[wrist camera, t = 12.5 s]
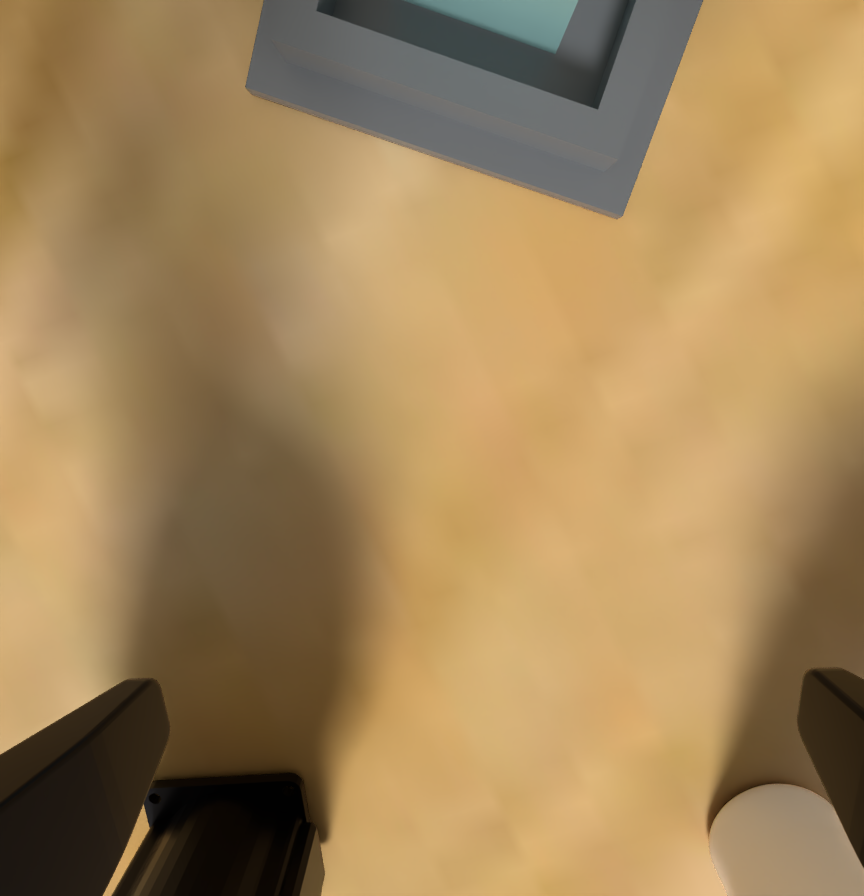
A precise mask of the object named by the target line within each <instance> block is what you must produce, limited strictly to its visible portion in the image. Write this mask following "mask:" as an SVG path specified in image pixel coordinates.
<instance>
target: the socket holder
mask: <svg viewBox="0 0 864 896" xmlns="http://www.w3.org/2000/svg"><path fill="white" fill-rule="evenodd" d="M702 2H703V0H578V2H577V5H576V7H575V9H574V12H573V14H572V16H571V19H570V21H569V23H568V26H567V28H566V30H565V33H564V35H563V37H562V40H561V42H560V44H559V47H558V49H557V51H556V54H553V53H550V52H547V51H545V50H542V49H539V48H536V47H533V46H530V45H528V44H525V43H522V42H519V41H516V40H513V39H511V38H508V37H505V36H502V35H499V34H496V33H494V32H491V31H488V30H485V29H482V28H479V27H477V26H474V25H471V24H468V23H465V22H462V21H460V20H457V19H454V18H451V17H448V16H445V15H443V14H440V13H437V12H434V11H431V10H428V9H426V8H423V7H420V6H417V5H414V4H411V3H409V2H406V1H403V0H264V2H263V7H262V12H261V16H260V21H259V26H258V30H257V35H256V40H255V44H254V49H253V53H252V58H251V63H250V67H249V72H248V77H247V81H246V86H245V87H246V89H247V90H248V91H249V92H250V93H251V94H252V95H255V96H258V97H261V98H264V99H267V100H270V101H272V102H275V103H278V104H281V105H284V106H287V107H290V108H293V109H296V110H299V111H302V112H305V113H308V114H310V115H313V116H316V117H319V118H322V119H325V120H328V121H331V122H334V123H337V124H340V125H343V126H346V127H349V128H351V129H354V130H357V131H360V132H363V133H366V134H369V135H372V136H375V137H378V138H381V139H384V140H387V141H389V142H392V143H395V144H398V145H401V146H404V147H407V148H410V149H413V150H416V151H419V152H422V153H425V154H428V155H430V156H433V157H436V158H439V159H442V160H445V161H448V162H451V163H454V164H457V165H460V166H463V167H466V168H469V169H471V170H474V171H477V172H480V173H483V174H486V175H489V176H492V177H495V178H498V179H501V180H504V181H507V182H509V183H512V184H515V185H518V186H521V187H524V188H527V189H530V190H533V191H536V192H539V193H542V194H545V195H548V196H550V197H553V198H556V199H559V200H562V201H565V202H568V203H571V204H574V205H577V206H580V207H583V208H586V209H589V210H591V211H594V212H597V213H600V214H603V215H606V216H609V217H612V218H615V219H618V218H620V217H622V216H623V214H624V211H625V208H626V206H627V203H628V200H629V198H630V195H631V192H632V190H633V187H634V184H635V182H636V179H637V176H638V174H639V171H640V168H641V166H642V163H643V160H644V157H645V155H646V152H647V149H648V147H649V144H650V141H651V139H652V136H653V133H654V131H655V128H656V125H657V123H658V120H659V117H660V115H661V112H662V109H663V107H664V104H665V101H666V99H667V96H668V93H669V91H670V88H671V85H672V82H673V80H674V77H675V74H676V72H677V69H678V66H679V64H680V61H681V58H682V56H683V53H684V50H685V48H686V45H687V42H688V40H689V37H690V34H691V32H692V29H693V26H694V24H695V21H696V18H697V16H698V13H699V10H700V7H701V5H702Z"/></svg>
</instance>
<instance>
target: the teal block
mask: <svg viewBox="0 0 864 896" xmlns="http://www.w3.org/2000/svg"><path fill="white" fill-rule="evenodd" d="M403 1H406V2H409V3H411V4H414V5H417V6H420V7H423V8H426V9H428V10H431V11H434V12H437V13H440V14H443V15H445V16H448V17H451V18H454V19H457V20H460V21H462V22H465V23H468V24H471V25H474V26H477V27H479V28H482V29H485V30H488V31H491V32H494V33H496V34H499V35H502V36H505V37H508V38H511V39H513V40H516V41H519V42H522V43H525V44H528V45H530V46H533V47H536V48H539V49H542V50H545V51H547V52H550V53H553V54H556V51H557V49H558V47H559V44H560V42H561V40H562V37H563V35H564V33H565V30H566V28H567V26H568V23H569V21H570V19H571V16H572V14H573V12H574V9H575V7H576V5H577V2H578V0H403Z"/></svg>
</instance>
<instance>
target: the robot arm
mask: <svg viewBox="0 0 864 896" xmlns="http://www.w3.org/2000/svg"><path fill="white" fill-rule="evenodd" d="M797 724H798V730H799V733H800V736H801V739H802V741H803V743H804V745H805V747H806V750H807V752H808V754H809V756H810V758H811V760H812V762H813V764H814V767H815V769H816V771H817V773H818V775H819V777H820V779H821V782H822V784H823V786H824V788H825V790H826V792H827V794H828V797H829V799H830V801H831V803H832V805H833V807H834V809H835V811H836V814H837V816H838V818H839V820H840V822H841V824H842V826H843V829H844V831H845V833H846V835H847V837H848V839H849V841H850V843H851V845H852V847H853V849H854V851H855V853H856V855H857V857H858V859H859V861H860V863H861V865H862V866H863V868H864V680H863V679H862V678H860V677H858V676H856V675H854V674H852V673H850V672H848V671H846V670H844V669H841V668H810V669H808V670H807V671H806V672H805V674H804V676H803V681H802V688H801V694H800V701H799V708H798V715H797ZM169 734H170V722H169V718H168V714H167V710H166V706H165V702H164V698H163V694H162V690H161V687H160V684H159V683H158V681H157V680H155V679H152V678H136V679H127V680H125V681H123V682H121V683H119V684H118V685H116V686H114V687H113V688H111V689H109V690H108V691H106V692H104V693H103V694H101V695H99V696H98V697H96V698H94V699H93V700H91V701H89V702H88V703H86V704H84V705H83V706H81V707H79V708H78V709H76V710H74V711H73V712H71V713H69V714H68V715H66V716H64V717H63V718H61V719H59V720H58V721H56V722H54V723H53V724H51V725H49V726H47V727H46V728H44V729H42V730H41V731H39V732H37V733H36V734H34V735H32V736H31V737H29V738H27V739H26V740H24V741H22V742H21V743H19V744H17V745H16V746H14V747H12V748H11V749H9V750H7V751H6V752H4V753H2V754H1V755H0V896H103V894H104V892H105V890H106V888H107V886H108V884H109V882H110V880H111V878H112V876H113V874H114V872H115V870H116V868H117V865H118V863H119V861H120V859H121V857H122V855H123V853H124V851H125V848H126V846H127V844H128V841H129V839H130V837H131V834H132V832H133V829H134V827H135V824H136V822H137V819H138V816H139V814H140V811H141V809H142V806H143V804H144V807H145V811H146V815H147V819H148V823H149V827H150V829H149V831H148V833H147V834H146V836H145V838H144V840H143V841H142V843H141V845H140V847H139V848H138V850H137V852H136V854H135V855H134V857H133V859H132V861H131V862H130V864H129V866H128V868H127V869H126V871H125V873H124V875H123V876H122V878H121V880H120V882H119V883H118V885H117V887H116V889H115V890H114V892H113V894H112V896H321V892H322V885H323V880H324V875H325V872H324V865H323V859H322V853H321V847H320V841H319V835H318V829H317V827H316V825H315V824H314V823H313V822H310V818H309V812H308V806H307V800H306V794H305V788H304V782H303V780H302V778H301V777H300V776H299V775H297V774H295V773H280V774H263V775H245V776H227V777H210V778H192V779H174V780H157V781H153V778H154V776H155V773H156V771H157V768H158V766H159V763H160V761H161V758H162V755H163V753H164V750H165V748H166V745H167V742H168V739H169ZM152 781H153V782H152ZM287 786H291V787H293V789H292V788H288V787H287ZM156 794H158V795H159V796H158V795H156Z"/></svg>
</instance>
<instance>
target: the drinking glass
mask: <svg viewBox="0 0 864 896" xmlns="http://www.w3.org/2000/svg"><path fill="white" fill-rule="evenodd" d="M709 853H710V857H711V861H712V864H713V866H714V869H715V871H716V873H717V875H718V877H719V880H720V882H721V884H722V886H723V888H724V890H725V892H726V894H727V896H864V868H863V866H862V865H861V863H860V861H859V859H858V857H857V855H856V853H855V851H854V849H853V847H852V845H851V843H850V841H849V839H848V837H847V835H846V833H845V831H844V829H843V826H842V824H841V822H840V820H839V818H838V816H837V814H836V811H835V809H834V807H833V806H832V805H831V804H830V803H829V802H828V801H827V800H825V799H824V798H823V797H821V796H820V795H818V794H816V793H815V792H813V791H811V790H808V789H806V788H803V787H799V786H796V785H790V784H767V785H762V786H757V787H754V788H751V789H749V790H746V791H744V792H742V793H740V794H739V795H737V796H735V797H734V798H732V799H731V800H730V801H729V802H727V803H726V804H725V805H724V806H723V807H722V809H721V810H720V811H719V813H718V814H717V816H716V817H715V819H714V821H713V824H712V826H711V829H710V834H709Z"/></svg>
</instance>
